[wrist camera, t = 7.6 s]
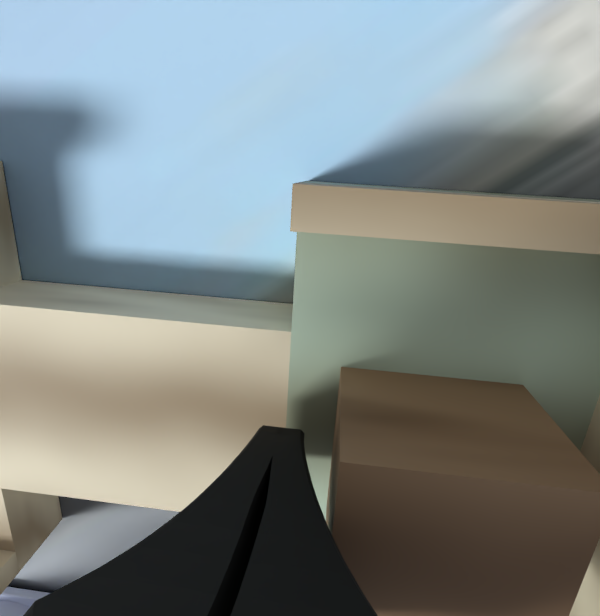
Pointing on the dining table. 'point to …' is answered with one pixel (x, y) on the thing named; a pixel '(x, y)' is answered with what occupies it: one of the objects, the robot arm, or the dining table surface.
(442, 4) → the dining table surface
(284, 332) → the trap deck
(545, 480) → the walnut block
